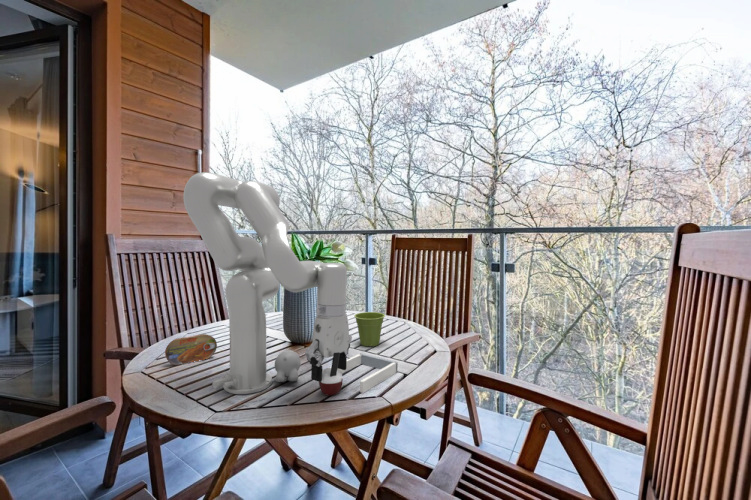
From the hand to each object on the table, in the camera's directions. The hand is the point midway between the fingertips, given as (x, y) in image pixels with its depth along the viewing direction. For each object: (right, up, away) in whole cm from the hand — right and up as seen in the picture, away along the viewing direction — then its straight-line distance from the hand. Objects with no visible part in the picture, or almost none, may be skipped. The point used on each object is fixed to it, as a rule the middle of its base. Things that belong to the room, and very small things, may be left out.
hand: (329, 374), depth 93 cm
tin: (-48, -4, +22) cm, 53 cm away
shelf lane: (+8, -5, +11) cm, 15 cm away
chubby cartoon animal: (-13, -5, +9) cm, 16 cm away
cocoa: (0, -5, 0) cm, 5 cm away
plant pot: (+10, -4, +43) cm, 44 cm away
